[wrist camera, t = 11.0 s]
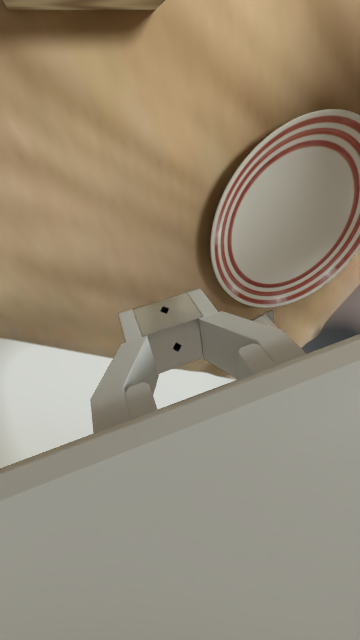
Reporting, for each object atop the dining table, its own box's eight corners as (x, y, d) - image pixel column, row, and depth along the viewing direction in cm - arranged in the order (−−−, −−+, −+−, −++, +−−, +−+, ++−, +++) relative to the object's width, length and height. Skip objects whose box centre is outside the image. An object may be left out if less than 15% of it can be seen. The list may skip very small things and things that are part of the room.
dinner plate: (237, 325, 52) (246, 336, 50) (169, 190, 34) (178, 197, 32) (368, 243, 51) (383, 251, 48) (369, 56, 33) (394, 52, 30)
